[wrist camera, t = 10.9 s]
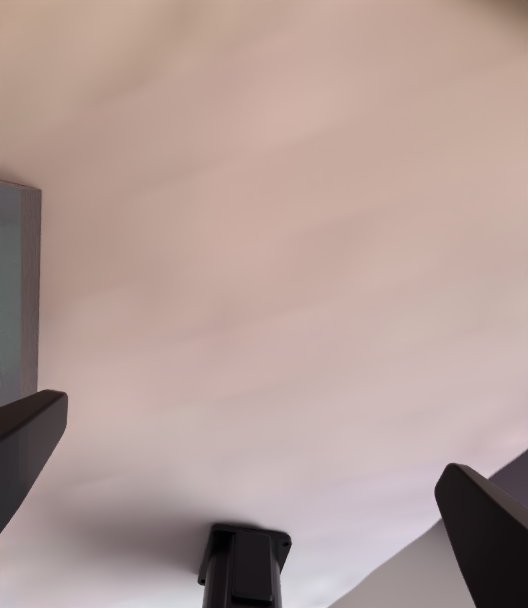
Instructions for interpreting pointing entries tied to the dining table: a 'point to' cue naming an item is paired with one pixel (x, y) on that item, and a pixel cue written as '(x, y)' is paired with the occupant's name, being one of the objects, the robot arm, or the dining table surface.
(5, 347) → the base plate
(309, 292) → the dining table surface
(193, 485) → the dining table surface
